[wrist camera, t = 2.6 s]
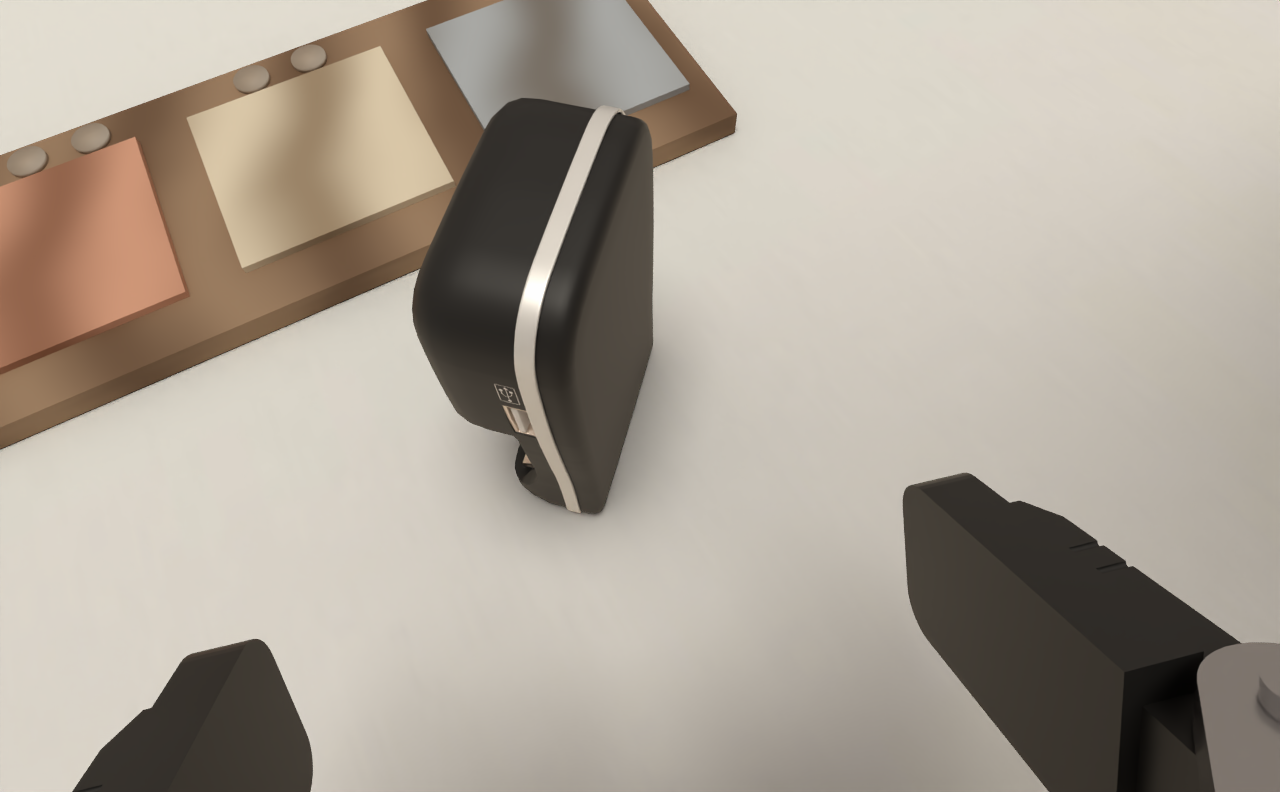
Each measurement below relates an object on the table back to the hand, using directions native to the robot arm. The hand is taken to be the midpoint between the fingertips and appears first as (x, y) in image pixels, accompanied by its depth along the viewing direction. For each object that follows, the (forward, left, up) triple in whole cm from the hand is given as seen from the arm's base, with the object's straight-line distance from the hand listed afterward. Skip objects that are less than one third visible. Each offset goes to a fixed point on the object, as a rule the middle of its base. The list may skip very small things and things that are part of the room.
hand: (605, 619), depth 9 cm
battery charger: (-2, -9, -14) cm, 16 cm away
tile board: (+2, -23, -13) cm, 26 cm away
